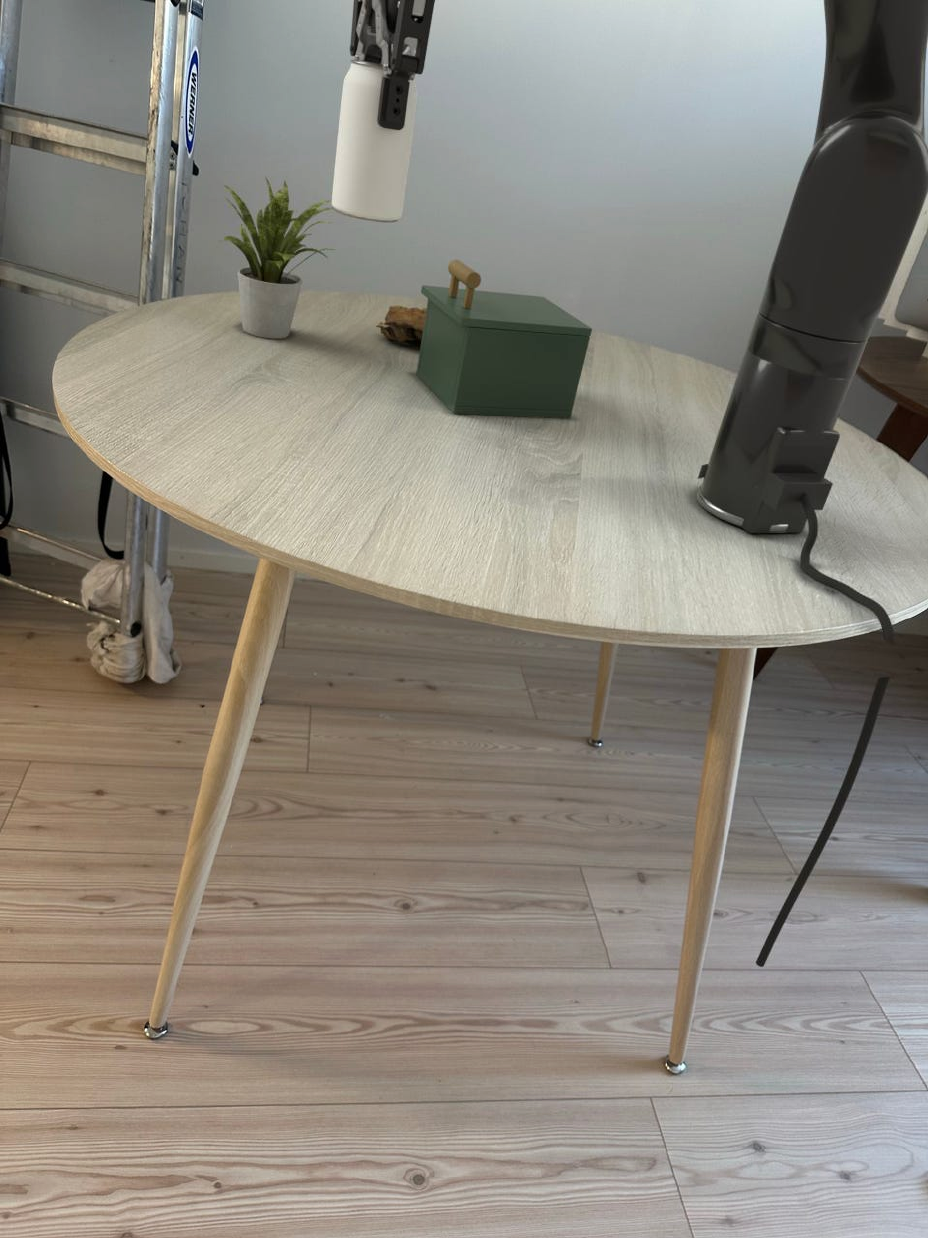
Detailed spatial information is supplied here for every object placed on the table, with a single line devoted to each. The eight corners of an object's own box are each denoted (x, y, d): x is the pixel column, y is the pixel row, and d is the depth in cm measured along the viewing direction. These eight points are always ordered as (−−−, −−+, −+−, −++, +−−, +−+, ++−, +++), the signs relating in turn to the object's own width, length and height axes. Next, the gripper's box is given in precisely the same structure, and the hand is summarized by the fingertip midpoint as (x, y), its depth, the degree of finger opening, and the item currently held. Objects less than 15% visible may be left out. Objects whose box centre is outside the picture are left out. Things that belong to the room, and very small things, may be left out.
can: (406, 216, 93) (425, 72, 87) (395, 226, 87) (415, 73, 81) (338, 203, 93) (353, 58, 87) (323, 212, 87) (338, 58, 81)
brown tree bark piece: (407, 363, 113) (507, 364, 122) (414, 328, 111) (516, 332, 120) (357, 326, 120) (456, 330, 129) (364, 292, 118) (463, 299, 127)
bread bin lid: (460, 326, 95) (469, 279, 93) (420, 292, 104) (427, 249, 102) (590, 336, 101) (601, 292, 99) (542, 303, 110) (550, 263, 107)
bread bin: (453, 413, 100) (469, 327, 95) (415, 374, 109) (428, 293, 104) (570, 418, 105) (590, 336, 101) (525, 380, 114) (542, 304, 110)
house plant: (356, 356, 110) (375, 201, 102) (235, 354, 103) (246, 188, 95) (307, 317, 120) (322, 174, 112) (195, 313, 113) (201, 159, 105)
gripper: (333, -119, 82) (314, 104, 90) (388, -128, 71) (360, 128, 79) (418, -97, 85) (391, 117, 93) (483, -103, 74) (446, 141, 82)
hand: (377, 121), depth 86 cm, fingers closed on can, 6 cm apart
